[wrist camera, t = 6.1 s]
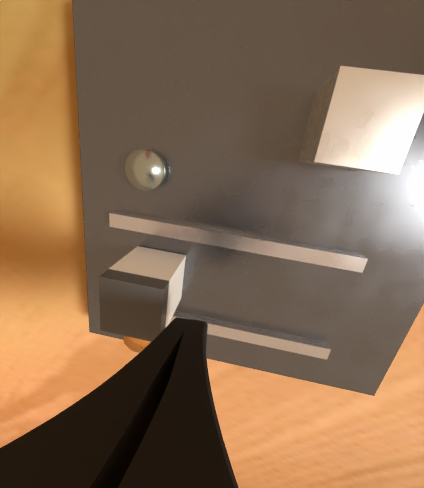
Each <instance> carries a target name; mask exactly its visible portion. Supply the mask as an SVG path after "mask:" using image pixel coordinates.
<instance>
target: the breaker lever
mask: <svg viewBox="0 0 424 488" xmlns="http://www.w3.org/2000/svg"><path fill="white" fill-rule="evenodd" d="M185 260H186V255H182V254H177V253H172V252H166V251H161V250H156V249H150V248H145V247H140V246H137V247H136V248H135V249H133V250H132V251H131V252H130V253H128V254H127V255H126V256H124V257H123V258H122V259H121V260H119V261H118V262H117V263H115V264H114V265H113V266H112V267H110V268H109V269H108V270H106V271H105V272H104V273H103V274H101V275H100V276H99V302H100V330H101V331H105V332H110V333H114V334H119V335H123V336H128V337H132V338H137V339H141V340H146V341H150V342H152V341H153V340H154V339H155V338H156V337H157V336H158V335H159V334H160V333H161V332H162V331H163V330H164V329H165V328H166V327H167V326H168V325H169V323H170V321H171V318H172V316H173V314H174V312H175V310H176V308H177V306H178V304H179V302H180V300H181V296H182V287H183V278H184V269H185Z"/></svg>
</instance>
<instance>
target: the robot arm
mask: <svg viewBox="0 0 424 488" xmlns="http://www.w3.org/2000/svg"><path fill="white" fill-rule="evenodd" d="M207 329H208V324H207V323H206V322H205V321H198V320H191V319H184V318H177V317H176V318H175V319H173V320H172V321H171V322H170V324H169V325H168V326H167V327H166V328H165V329H164V330H163V331H162V332H161V333H160V334H159V335H158V336H157V337H156V338H155V339H154V340H153V341H152V342H151V343H150V344H149V345H148V346H146V347H145V348H144V349H143V350H142V351H141V352H140V353H139V354H138V355H137V356H136V357H134V358H133V359H132V360H131V361H130V362H129V363H127V364H126V365H125V366H124V367H123V368H122V369H120V370H119V371H118V372H117V373H116V374H114V375H113V376H112V377H111V378H109V379H108V380H107V381H105V382H104V383H103V384H101V385H100V386H99V387H97V388H96V389H95V390H93V391H92V392H91V393H89V394H88V395H86V396H85V397H83V398H82V399H80V400H79V401H77V402H76V403H75V404H73V405H72V406H70V407H69V408H67V409H66V410H64V411H63V412H61V413H59V414H58V415H56V416H55V417H53V418H52V419H50V420H48V421H47V422H45V423H43V424H41V425H40V426H38V427H36V428H35V429H33V430H31V431H30V432H28V433H26V434H25V435H23V436H21V437H19V438H18V439H16V440H14V441H12V442H11V443H9V444H7V445H5V446H3V447H2V448H0V488H238V485H237V482H236V479H235V476H234V473H233V470H232V467H231V463H230V460H229V457H228V454H227V450H226V447H225V444H224V441H223V437H222V434H221V430H220V426H219V422H218V419H217V415H216V410H215V406H214V402H213V397H212V392H211V387H210V381H209V375H208V368H207V359H206V346H207Z"/></svg>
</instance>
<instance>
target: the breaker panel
mask: <svg viewBox="0 0 424 488" xmlns="http://www.w3.org/2000/svg"><path fill="white" fill-rule="evenodd" d="M72 4H73V23H74V42H75V62H76V81H77V100H78V119H79V139H80V158H81V177H82V196H83V215H84V235H85V254H86V273H87V292H88V311H89V331H90V332H92V333H96V334H101V335H105V336H110V337H114V338H119V339H123V340H124V343H125V344H126V346H127V347H128V348H129V349H131V350H132V351H135V352H139V353H140V352H141V351H142V350H143V349H144V348H145V347H146V346H148V345H149V344H150V343H151V342H150V341H146V340H141V339H137V338H132V337H128V336H123V335H119V334H114V333H110V332H105V331H101V330H100V302H99V276H100V275H101V274H103V273H104V272H105V271H106V270H108V269H109V268H110V267H112V266H113V265H114V264H115V263H117V262H118V261H119V260H121V259H122V258H123V257H124V256H126V255H127V254H128V253H130V252H131V251H132V250H133V249H135V248H136V247H137V246H140V247H145V248H150V249H156V250H161V251H166V252H172V253H177V254H182V255H186V260H185V269H184V278H183V287H182V296H181V300H180V302H179V304H178V306H177V308H176V310H175V312H174V314H173V316H172V318H171V321H172V320H173V319H175V318H176V317H177V318H184V319H191V320H198V321H205V322H206V323H207V324H208V329H207V346H206V358H208V359H212V360H217V361H221V362H226V363H230V364H235V365H239V366H244V367H248V368H252V369H257V370H261V371H266V372H270V373H275V374H279V375H284V376H288V377H293V378H297V379H302V380H306V381H310V382H315V383H319V384H324V385H328V386H333V387H337V388H342V389H346V390H351V391H355V392H360V393H364V394H368V395H373V396H374V395H375V393H376V391H377V389H378V387H379V385H380V384H381V382H382V380H383V378H384V376H385V374H386V372H387V371H388V369H389V367H390V365H391V363H392V361H393V359H394V357H395V356H396V354H397V352H398V350H399V348H400V346H401V344H402V343H403V341H404V339H405V337H406V335H407V333H408V331H409V330H410V328H411V326H412V324H413V322H414V320H415V318H416V317H417V315H418V313H419V311H420V309H421V307H422V305H423V303H424V0H72ZM171 321H170V322H171ZM169 324H170V323H169Z"/></svg>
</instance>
